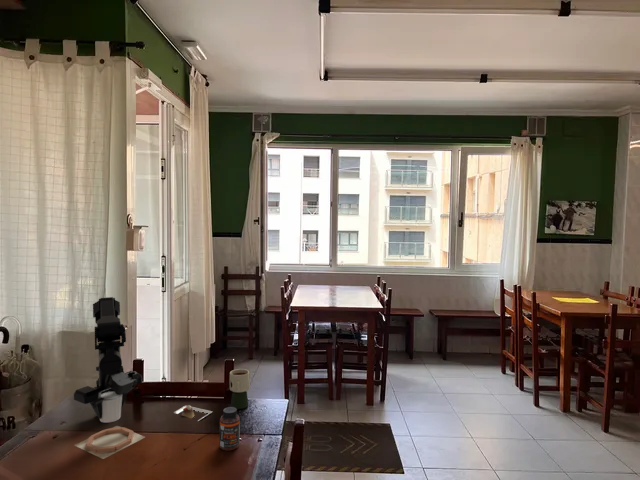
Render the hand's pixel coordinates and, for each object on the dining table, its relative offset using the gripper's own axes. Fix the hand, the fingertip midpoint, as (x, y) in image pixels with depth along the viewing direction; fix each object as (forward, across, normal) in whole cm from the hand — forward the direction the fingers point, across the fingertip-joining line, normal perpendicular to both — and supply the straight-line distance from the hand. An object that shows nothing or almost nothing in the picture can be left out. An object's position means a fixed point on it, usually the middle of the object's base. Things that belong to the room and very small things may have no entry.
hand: (110, 414), depth 129 cm
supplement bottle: (+10, +18, -31) cm, 37 cm away
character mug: (+10, +40, -16) cm, 44 cm away
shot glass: (+1, 0, 0) cm, 1 cm away
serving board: (+9, 0, 0) cm, 9 cm away
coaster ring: (+8, 0, 0) cm, 8 cm away
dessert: (+10, +25, -6) cm, 28 cm away
